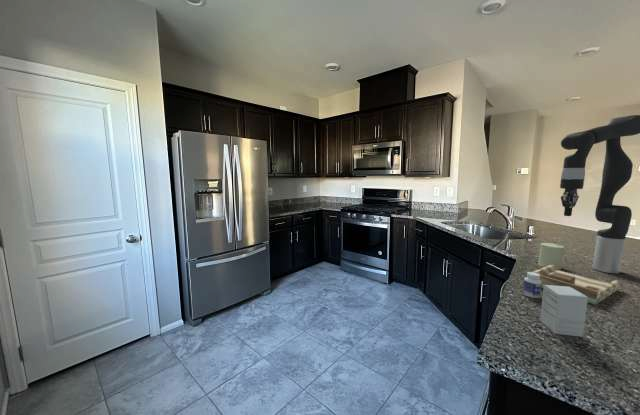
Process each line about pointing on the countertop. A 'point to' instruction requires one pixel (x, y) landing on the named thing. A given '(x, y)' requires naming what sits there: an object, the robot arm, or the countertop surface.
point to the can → (551, 255)
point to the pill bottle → (532, 285)
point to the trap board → (579, 284)
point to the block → (563, 277)
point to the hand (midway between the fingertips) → (567, 215)
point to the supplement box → (563, 310)
